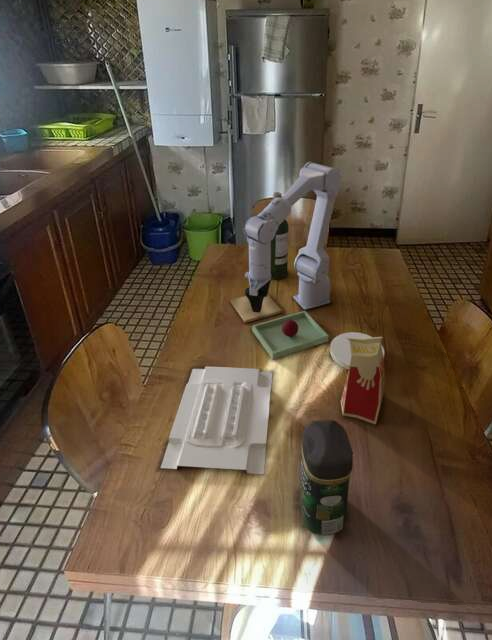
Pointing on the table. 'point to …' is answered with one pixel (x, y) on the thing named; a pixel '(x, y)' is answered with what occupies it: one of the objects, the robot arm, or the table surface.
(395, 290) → the table surface
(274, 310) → the board
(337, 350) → the plastic lid
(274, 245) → the wine bottle
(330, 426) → the coffee jar
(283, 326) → the plum
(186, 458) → the tray
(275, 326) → the tray
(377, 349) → the milk carton
